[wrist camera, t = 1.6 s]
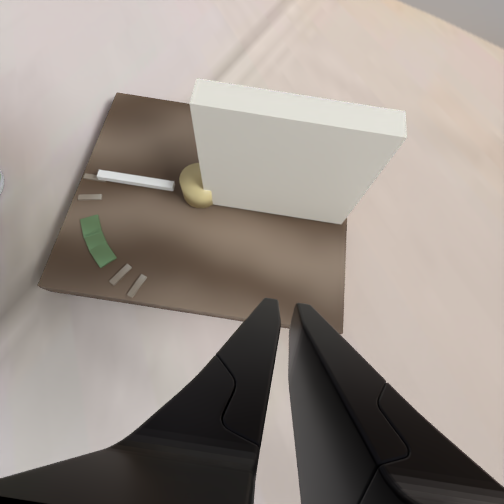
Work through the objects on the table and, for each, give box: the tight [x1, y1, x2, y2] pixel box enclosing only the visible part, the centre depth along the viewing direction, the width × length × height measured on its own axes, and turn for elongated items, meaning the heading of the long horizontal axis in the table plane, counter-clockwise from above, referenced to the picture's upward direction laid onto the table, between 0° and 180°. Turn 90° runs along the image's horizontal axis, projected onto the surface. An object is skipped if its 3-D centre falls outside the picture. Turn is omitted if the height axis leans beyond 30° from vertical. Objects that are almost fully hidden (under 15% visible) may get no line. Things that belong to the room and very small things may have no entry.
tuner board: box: [38, 93, 347, 334], centre depth 23 cm, size 17×20×2 cm
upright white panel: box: [97, 78, 407, 224], centre depth 18 cm, size 3×18×9 cm, turn 82°
